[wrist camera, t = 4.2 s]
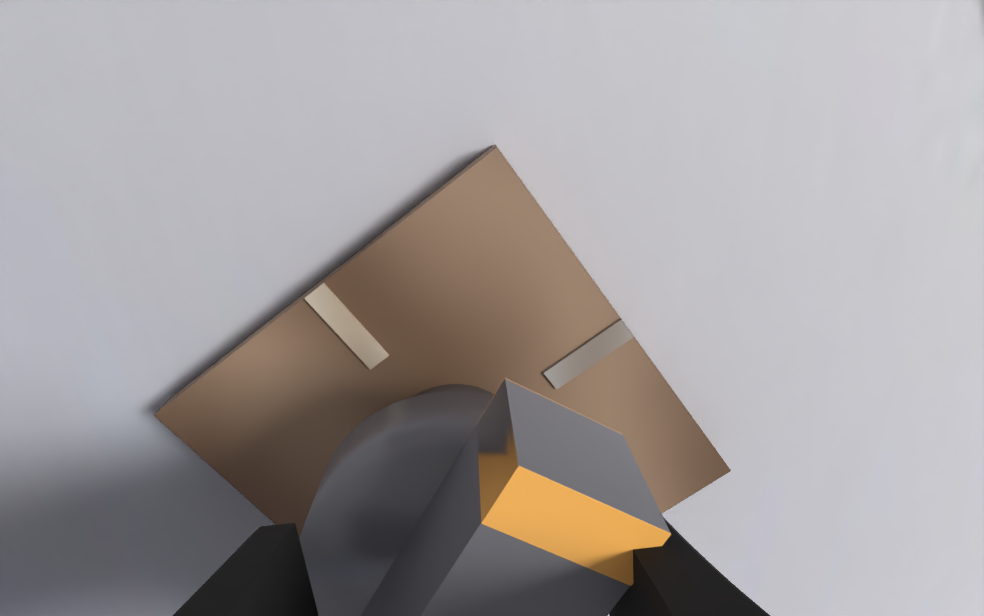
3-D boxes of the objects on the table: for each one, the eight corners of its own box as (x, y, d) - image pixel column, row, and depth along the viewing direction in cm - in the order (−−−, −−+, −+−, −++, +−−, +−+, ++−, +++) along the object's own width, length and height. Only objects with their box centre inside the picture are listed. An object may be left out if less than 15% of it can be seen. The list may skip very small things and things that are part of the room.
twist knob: (482, 676, 15) (490, 908, 11) (257, 596, 14) (163, 821, 9) (668, 418, 13) (774, 579, 8) (417, 294, 11) (390, 409, 7)
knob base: (427, 631, 19) (419, 741, 16) (172, 396, 16) (95, 473, 13) (716, 450, 17) (776, 532, 14) (494, 144, 14) (504, 156, 11)
